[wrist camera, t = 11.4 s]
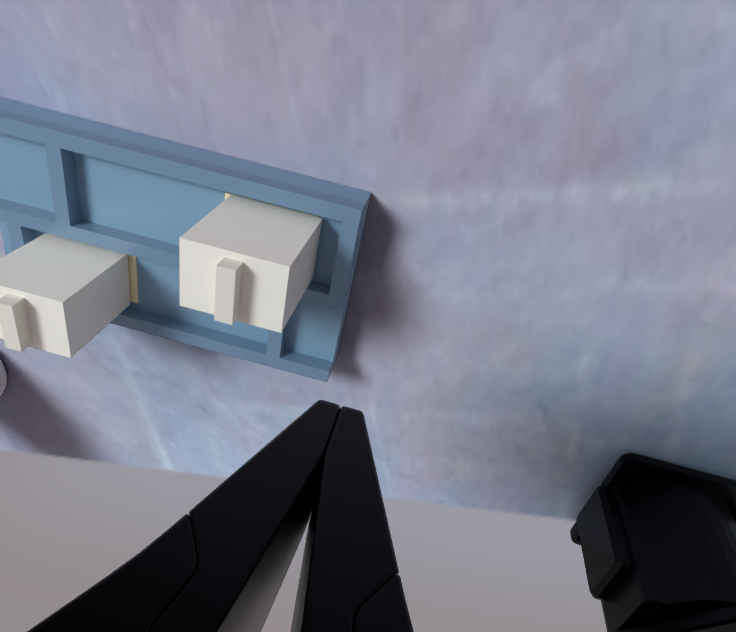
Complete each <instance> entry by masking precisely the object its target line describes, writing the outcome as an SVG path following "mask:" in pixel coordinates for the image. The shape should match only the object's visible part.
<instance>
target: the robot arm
mask: <svg viewBox="0 0 736 632" xmlns="http://www.w3.org/2000/svg"><path fill="white" fill-rule="evenodd" d="M629 464H633V465H629ZM311 512H312V513H311ZM310 515H311V517H310ZM309 519H310V522H309ZM308 522H309V527H308V532H307V537H306V543H305V549H304V555H303V561H302V567H301V573H300V579H299V585H298V591H297V597H296V603H295V609H294V615H293V620H292V626H291V632H414V631H413V628H412V624H411V620H410V616H409V612H408V608H407V604H406V600H405V596H404V592H403V587H402V583H401V578H400V576H399V575H398V572H399V570H398V566H397V561H396V557H395V553H394V548H393V543H392V539H391V535H390V530H389V526H388V521H387V517H386V512H385V508H384V503H383V499H382V494H381V490H380V485H379V481H378V476H377V472H376V467H375V463H374V459H373V454H372V450H371V445H370V441H369V436H368V432H367V427H366V423H365V418H364V415H363V412H362V411H360V410H356V409H353V408H349V407H345V406H343V407H341V409H340V406H339V405H338V404H334V403H331V402H327V401H323V400H319V401H317V402H316V403H315V404H313V405H312V406H311V407H310V408H309V409H308V410H306V411H305V412H304V413H303V414H302V415H301V416H300V417H298V418H297V419H296V420H295V421H294V422H293V423H291V424H290V425H289V426H288V427H287V428H286V429H284V430H283V431H282V432H281V433H280V434H279V435H277V436H276V437H275V438H274V439H273V440H272V441H271V442H269V443H268V444H267V445H266V446H265V447H264V448H262V449H261V450H260V451H259V452H258V453H257V454H255V455H254V456H253V457H252V458H251V459H250V460H248V461H247V462H246V463H245V464H244V465H243V466H242V467H240V468H239V469H238V470H237V471H236V472H235V473H233V474H232V475H231V476H230V477H229V478H228V479H226V480H225V481H224V482H223V483H222V484H221V485H219V486H218V487H217V488H216V489H215V490H214V491H213V492H211V493H210V494H209V495H208V496H207V497H206V498H205V499H204V500H202V501H201V502H200V503H199V504H197V505H196V506H195V507H194V508H193V509H192V510H191V511H190V512H189V515H187V514H186V515H184V516H183V517H182V518H181V519H180V520H179V521H178V522H176V523H175V524H174V525H173V526H172V527H170V528H169V529H168V530H167V531H166V532H164V533H163V534H162V535H161V536H160V537H158V538H157V539H156V540H155V541H153V542H152V543H151V544H150V545H148V546H147V547H146V548H145V549H144V550H142V551H141V552H140V553H138V554H137V555H136V556H135V557H133V558H131V559H130V560H129V561H127V562H126V563H125V564H123V565H122V566H120V567H119V568H118V569H116V570H115V571H114V572H112V573H111V574H110V575H108V576H107V577H105V578H104V579H102V580H101V581H99V582H98V583H97V584H95V585H94V586H92V587H91V588H90V589H88V590H87V591H85V592H84V593H82V594H81V595H79V596H78V597H76V598H75V599H74V600H72V601H71V602H69V603H68V604H66V605H65V606H64V607H62V608H60V609H59V610H58V611H56V612H55V613H54V614H52V615H50V616H49V617H48V618H46V619H45V620H43V621H42V622H40V623H39V624H37V625H36V626H34V627H33V628H32V629H30V630H29V631H27V632H261V630H262V628H263V626H264V623H265V621H266V619H267V617H268V614H269V612H270V610H271V607H272V605H273V603H274V601H275V598H276V596H277V594H278V591H279V589H280V587H281V585H282V582H283V580H284V578H285V575H286V573H287V571H288V568H289V566H290V564H291V562H292V559H293V557H294V555H295V552H296V550H297V548H298V545H299V543H300V541H301V539H302V536H303V534H304V532H305V529H306V527H307V524H308ZM570 533H571V538H572V541H573V542H574V543H576V544H579V545H581V547H582V552H583V557H584V562H585V568H586V573H587V579H588V584H589V589H590V592H591V594H592V596H593V597H594V598H596V599H599V600H601V603H602V608H603V613H604V617H605V622H606V627H607V632H736V481H733V480H730V479H726V478H722V477H719V476H715V475H711V474H708V473H704V472H700V471H697V470H693V469H689V468H686V467H682V466H678V465H675V464H671V463H667V462H664V461H660V460H656V459H653V458H649V457H645V456H642V455H638V454H633V453H629V454H625V455H623V456H621V457H620V458H619V460H618V461H617V463H616V464H615V466H614V467H613V469H612V470H611V472H610V473H609V474H608V476H607V477H606V479H605V480H604V482H603V483H602V485H601V486H599V487H598V488H597V489H596V490H595V491H594V493H593V494H592V496H591V497H590V499H589V500H588V502H587V503H586V505H585V506H584V508H583V509H582V511H581V512H580V513H579V515H578V516H577V521H576V523H575V524H574V526H573V527H572V529H571V531H570Z"/></svg>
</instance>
